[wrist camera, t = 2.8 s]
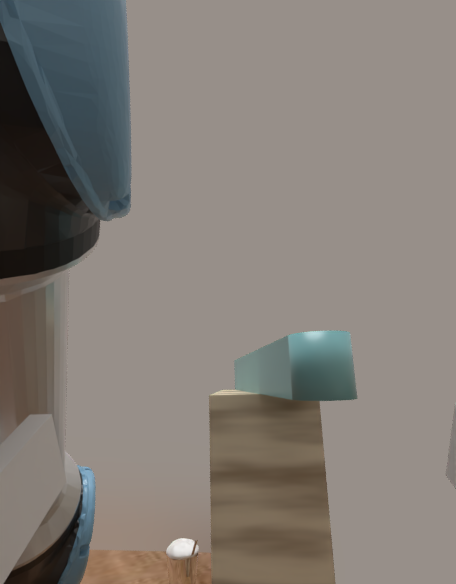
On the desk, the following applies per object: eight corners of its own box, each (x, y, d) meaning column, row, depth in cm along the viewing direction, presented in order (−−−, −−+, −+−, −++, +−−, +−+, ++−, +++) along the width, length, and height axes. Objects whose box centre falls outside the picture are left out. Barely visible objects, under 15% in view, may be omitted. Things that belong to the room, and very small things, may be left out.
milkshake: (182, 636, 44) (183, 546, 46) (158, 618, 48) (160, 534, 50) (209, 619, 47) (208, 535, 50) (185, 602, 51) (185, 525, 53)
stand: (357, 839, 24) (318, 392, 32) (215, 835, 25) (209, 395, 32) (311, 647, 42) (293, 388, 49) (228, 646, 42) (222, 389, 50)
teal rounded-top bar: (369, 399, 20) (361, 330, 21) (302, 401, 20) (297, 331, 21) (259, 388, 51) (258, 361, 52) (233, 389, 51) (232, 361, 52)
